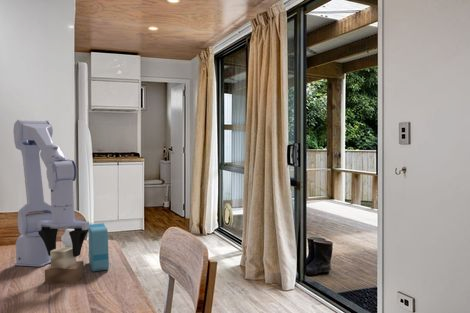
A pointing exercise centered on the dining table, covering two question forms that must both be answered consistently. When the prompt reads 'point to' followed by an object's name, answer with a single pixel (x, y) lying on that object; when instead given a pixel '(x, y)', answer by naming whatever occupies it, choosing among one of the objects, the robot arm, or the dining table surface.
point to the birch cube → (62, 257)
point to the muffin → (67, 238)
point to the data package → (98, 247)
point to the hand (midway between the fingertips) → (64, 255)
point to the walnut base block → (64, 274)
